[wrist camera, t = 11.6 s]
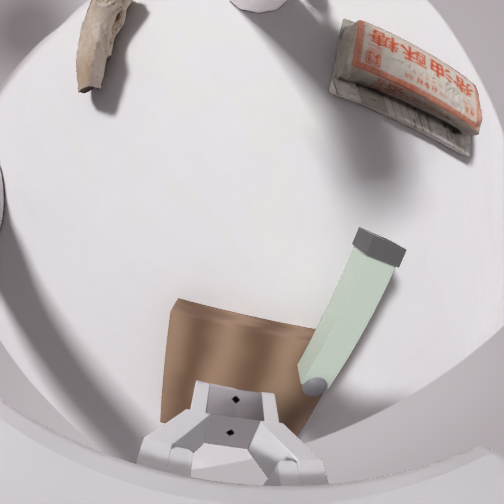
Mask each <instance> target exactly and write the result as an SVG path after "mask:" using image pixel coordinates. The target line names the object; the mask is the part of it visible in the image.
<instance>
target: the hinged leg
mask: <svg viewBox="0 0 504 504" xmlns="http://www.w3.org/2000/svg"><path fill="white" fill-rule="evenodd" d="M352 244H353V245H354V249H353V251H352V253H351V256H350V258H349V260H348V263H347V265H346V267H345V270H344V272H343V274H342V276H341V279H340V281H339V283H338V285H337V287H336V289H335V292H334V294H333V296H332V298H331V300H330V302H329V304H328V306H327V308H326V311H325V313H324V315H323V317H322V319H321V321H320V323H319V325H318V327H317V329H316V331H315V333H314V334H313V336H312V338H311V340H310V342H309V344H308V346H307V348H306V350H305V352H304V353H303V355H302V357H301V359H300V361H299V363H298V364H297V366H298V371H299V377H300V382H301V384H302V388H303V392H304V393H305V394H306V395H308V396H318V395H320V394H322V393H323V392H324V391H325V390H326V389H328V388H329V387H330V385H331V384H332V382H333V381H334V379H335V378H336V376H337V375H338V373H339V372H340V370H341V368H342V367H343V365H344V364H345V362H346V360H347V359H348V357H349V355H350V354H351V352H352V350H353V349H354V347H355V345H356V344H357V342H358V340H359V338H360V337H361V335H362V333H363V331H364V329H365V328H366V326H367V324H368V322H369V320H370V318H371V317H372V315H373V313H374V311H375V309H376V307H377V305H378V303H379V301H380V299H381V297H382V295H383V293H384V291H385V289H386V287H387V285H388V283H389V280H390V278H391V276H392V274H393V272H394V269H395V267H399V266H400V264H401V262H402V259H403V257H404V255H405V252H406V249H404V248H403V247H401V246H399V245H397V244H395V243H394V242H392V241H390V240H388V239H386V238H383V237H381V236H379V235H376V234H374V233H372V232H369V231H367V230H365V229H362V228H360V227H359V228H358V231H357V233H356V236H355V238H354V241H353V243H352Z"/></svg>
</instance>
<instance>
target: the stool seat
mask: <svg viewBox="0 0 504 504" xmlns="http://www.w3.org/2000/svg"><path fill="white" fill-rule="evenodd" d="M315 331H316V329H311V328H306V327H300V326H295V325H290V324H285V323H280V322H275V321H271V320H266V319H261V318H257V317H252V316H248V315H243V314H239V313H235V312H230V311H226V310H222V309H218V308H214V307H210V306H206V305H202V304H198V303H194V302H190V301H186V300H183V299H179V298H178V300H177V301H176V303H175V305H174V307H173V308H172V310H171V312H170V320H169V328H168V336H167V345H166V355H165V365H164V376H163V388H162V402H161V419H160V422H162V423H167V422H168V421H170V420H171V419H173V418H174V417H176V416H177V415H179V414H180V413H181V412H183V411H184V410H186V409H189V410H190V409H191V403H192V398H193V393H194V388H195V383H196V381H201V382H205V383H209V385H210V383H211V384H216V385H220V386H225V387H230V388H236V389H242V390H249V391H256V392H266V393H274V395H275V399H276V406H277V412H278V418H279V423H283V424H284V425H285V426H286V427H287V428H288V429H289V430H290V431H291V432H293V433H294V434H295V435H296V436H298V434H299V433H300V431H301V429H302V428H303V426H304V425H305V423H306V421H307V420H308V418H309V416H310V415H311V413H312V411H313V410H314V408H315V406H316V404H317V403H318V401H319V399H320V397H321V396H322V394H323V393H322V394H320V395H318V396H308V395H306V394H305V393H304V392H303V388H302V384H301V382H300V377H299V371H298V366H297V364H298V363H299V361H300V359H301V357H302V355H303V353H304V352H305V350H306V348H307V346H308V344H309V342H310V340H311V338H312V336H313V334H314V333H315Z"/></svg>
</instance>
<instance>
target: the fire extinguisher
mask: <svg viewBox="0 0 504 504" xmlns="http://www.w3.org/2000/svg"><path fill="white" fill-rule="evenodd" d="M230 1H231V2H232V3H233V4H235V5H236V6H237V7H238V8H239V9H243V10H248V11H252V12H257V13H261V12H266V11H271V10H276V9H278V8H279V7H280V6H281V5H282V4H283V3H284V2H286V1H287V0H230Z"/></svg>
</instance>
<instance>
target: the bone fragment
mask: <svg viewBox="0 0 504 504" xmlns="http://www.w3.org/2000/svg"><path fill="white" fill-rule="evenodd" d="M131 3H132V0H92V1H91V3H90V5H89V8H88V10H87V13H86V17H85V19H84V21H83V23H82V27H81V32H80V38H79V43H78V50H77V60H76V68H77V70H76V71H77V82H78V92H82V93H86V92H89V91H90V90H92V89H93V88H94V87H97V88H98V89H102V88H101V83H102V80H103V78H104V70H105V65H106V60H107V58H108V57H109V56H111V54H112V52H113V51H112V49H113V43H114V39H115V37H116V35H117V34H118V32H119V31H120V29H121V28H122V26H123V24H124V22H125V18H126V10H127V8H128V6H129V5H130V4H131Z"/></svg>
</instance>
